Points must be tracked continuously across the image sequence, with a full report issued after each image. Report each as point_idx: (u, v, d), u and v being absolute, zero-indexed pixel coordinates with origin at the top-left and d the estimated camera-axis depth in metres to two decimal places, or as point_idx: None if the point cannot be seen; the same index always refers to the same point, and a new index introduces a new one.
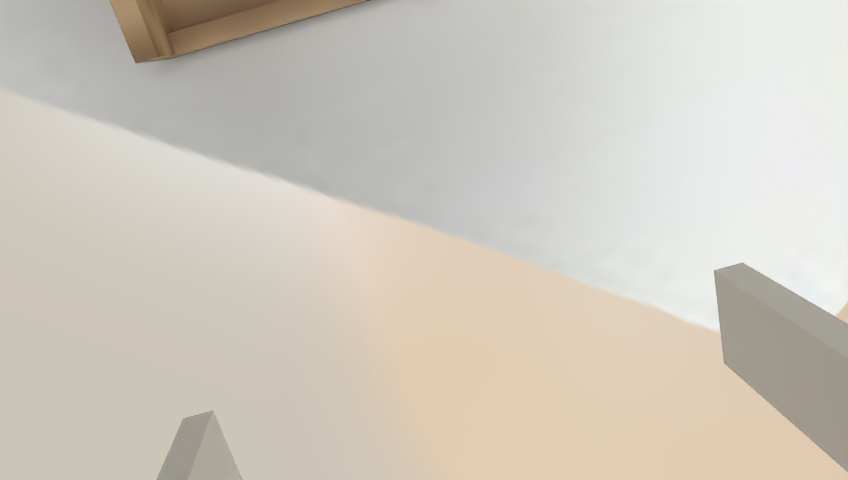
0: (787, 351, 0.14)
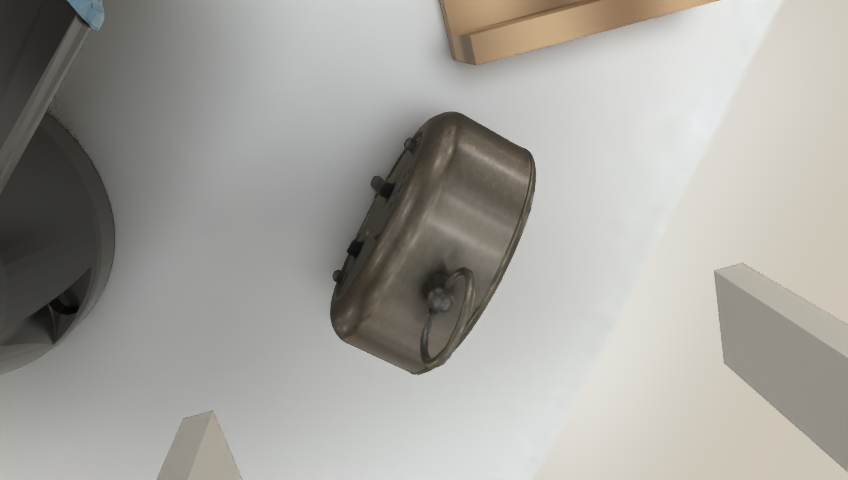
0: (787, 350, 0.14)
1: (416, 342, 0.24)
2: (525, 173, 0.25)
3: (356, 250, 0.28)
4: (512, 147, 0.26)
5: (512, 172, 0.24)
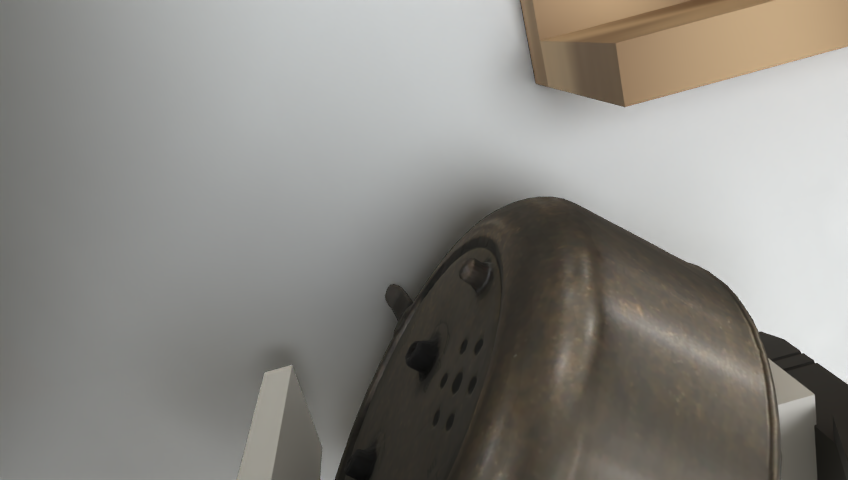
0: None
1: None
2: (751, 358, 0.11)
3: (363, 473, 0.14)
4: (699, 283, 0.12)
5: (727, 362, 0.10)
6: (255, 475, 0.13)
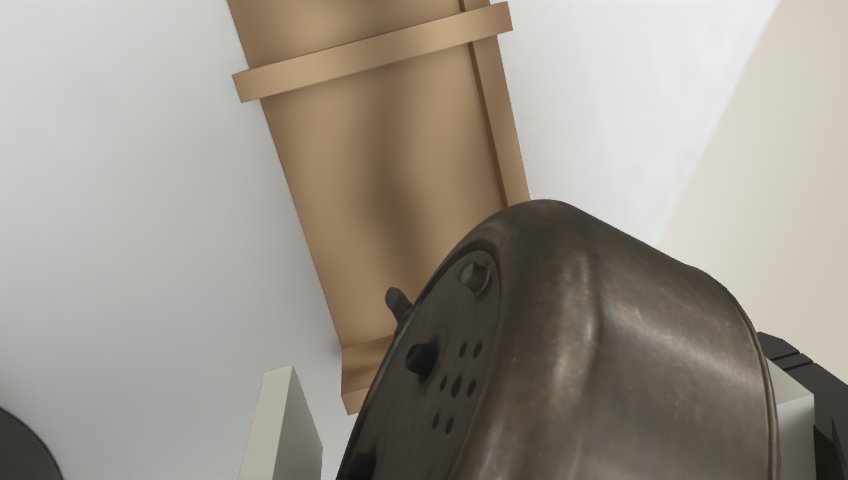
0: None
1: None
2: (750, 360, 0.11)
3: (363, 476, 0.14)
4: (698, 285, 0.12)
5: (726, 365, 0.10)
6: (256, 474, 0.13)
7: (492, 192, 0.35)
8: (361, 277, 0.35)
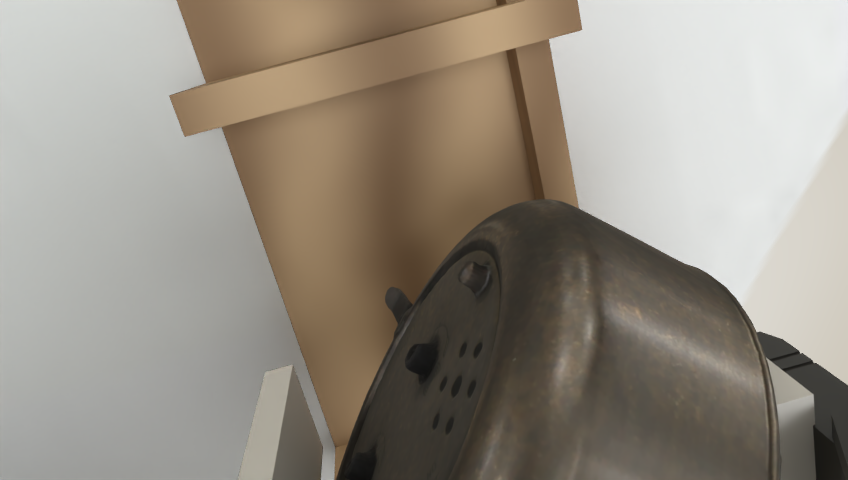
0: None
1: None
2: (750, 360, 0.11)
3: (363, 476, 0.14)
4: (698, 285, 0.12)
5: (726, 365, 0.10)
6: (256, 474, 0.13)
7: None
8: (360, 356, 0.27)
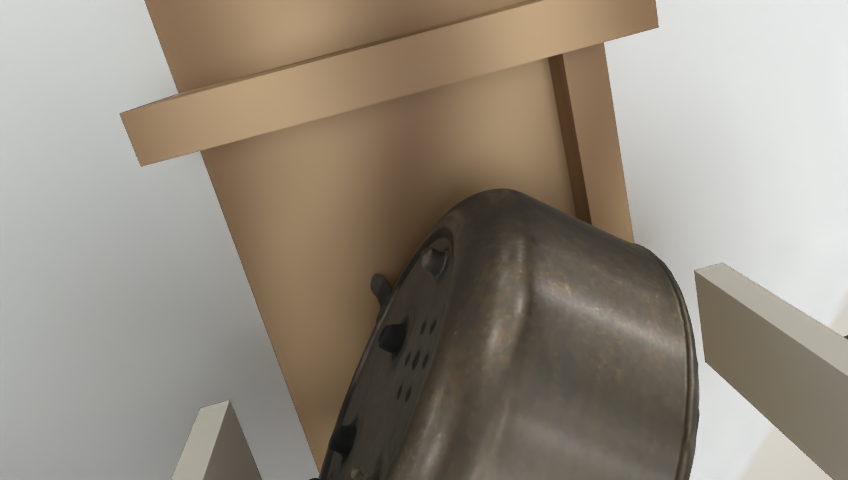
0: (763, 348, 0.14)
1: None
2: (675, 328, 0.12)
3: (344, 446, 0.15)
4: (634, 262, 0.13)
5: (650, 332, 0.12)
6: None
7: None
8: None
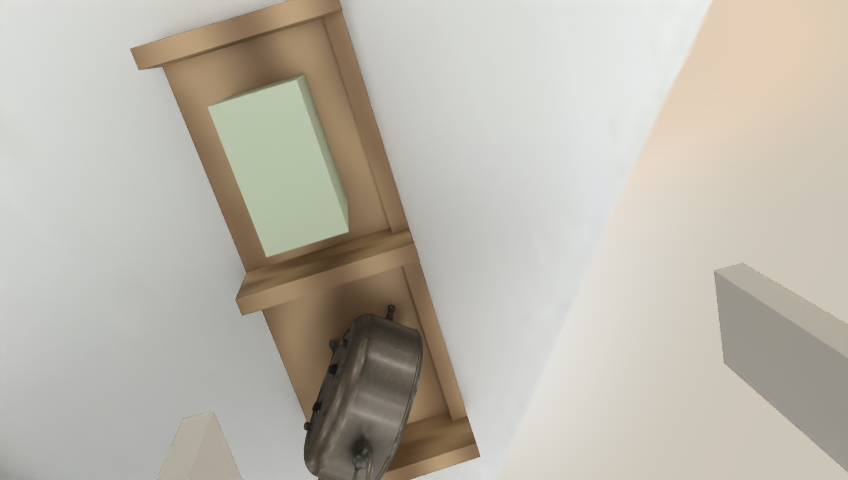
0: (787, 350, 0.14)
1: None
2: (413, 364, 0.39)
3: (317, 409, 0.43)
4: (407, 342, 0.40)
5: (404, 366, 0.39)
6: None
7: None
8: None
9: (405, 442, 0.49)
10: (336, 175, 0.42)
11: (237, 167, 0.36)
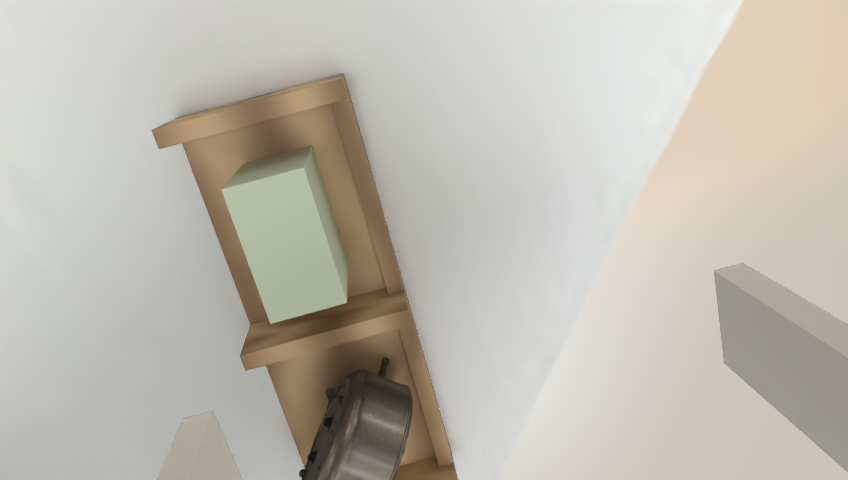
0: (787, 350, 0.14)
1: None
2: (403, 424, 0.42)
3: (312, 458, 0.46)
4: (398, 402, 0.43)
5: (394, 426, 0.42)
6: None
7: (412, 391, 0.52)
8: None
9: None
10: (337, 243, 0.45)
11: (246, 243, 0.39)
